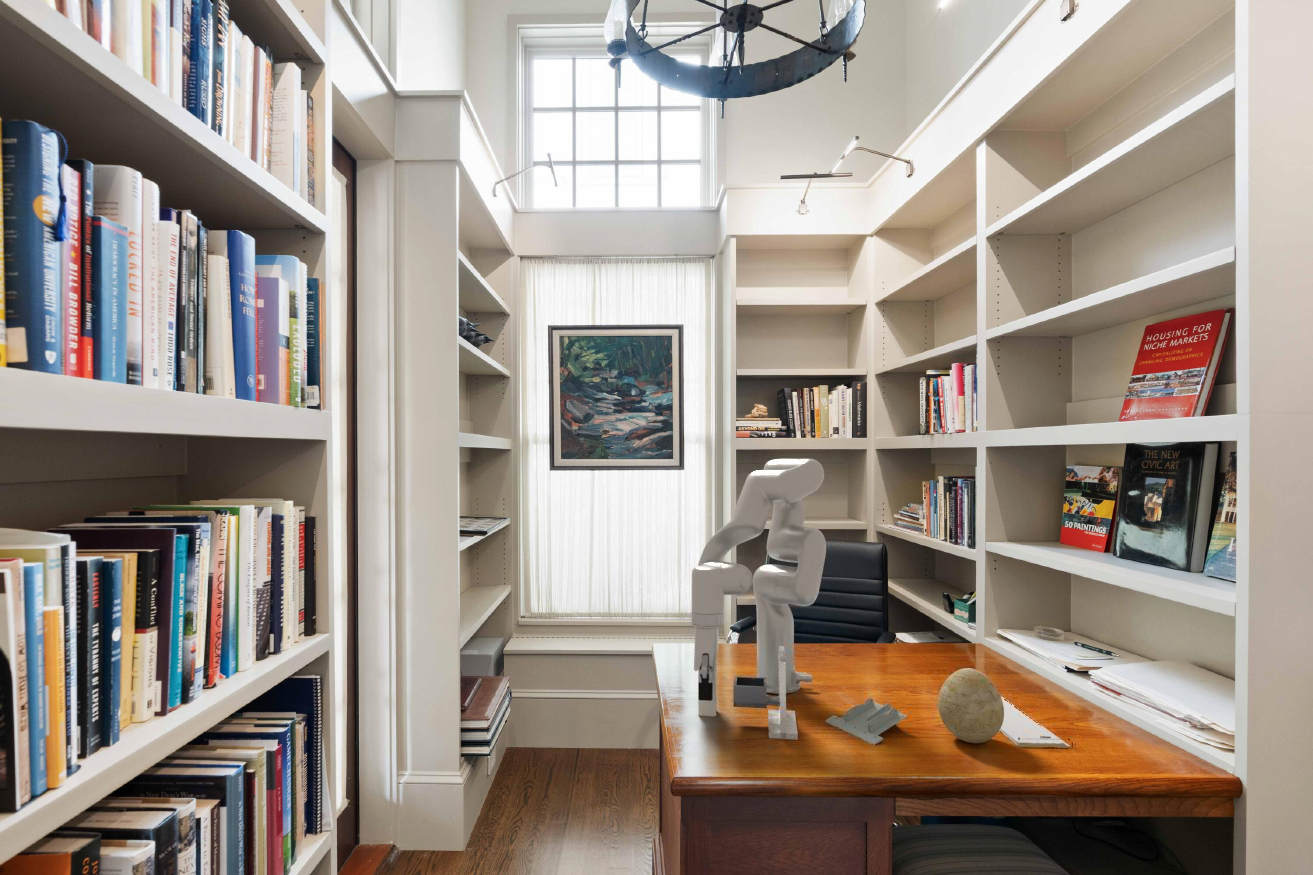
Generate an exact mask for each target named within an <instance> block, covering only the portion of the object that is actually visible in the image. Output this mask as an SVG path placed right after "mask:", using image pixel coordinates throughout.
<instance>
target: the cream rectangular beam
mask: <svg viewBox="0 0 1313 875" xmlns="http://www.w3.org/2000/svg"><path fill="white" fill-rule="evenodd" d="M708 669H710V668H708ZM697 671H698V676H697V677H698V682H699V673H700V668H699V670H697ZM711 682H713V699H712V701H706V700H699V699H698V707H697V708H698V714H697V715H698V716H699V717H700V716H701V717H714V716H716V717H717V713H718V663H716V668H715V671H714V672H712V680H711ZM716 712H717V713H716Z"/></svg>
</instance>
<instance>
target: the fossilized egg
mask: <svg viewBox="0 0 1313 875" xmlns="http://www.w3.org/2000/svg"><path fill="white" fill-rule="evenodd" d="M1001 697H1002V696H1001V695H1000V691H998V689H997V687H996V685H995V684H994V683H993V681H991V679H990V678H989V677H987V675H986V674H984V673H983V672H981V671H979V670H977V669H975V668H971V667H964V668H960V669H957V670H956V671H954V672H952V674H951V675H949V676H948V677H947V679H945V680H944V682H943V684H942V686H941V688H940V690H939V692H938V698H937V710H938V714H939V717H940V719H941V721H942V724H943V725H944V726H945V728H946V729H947V730H948V731H949V733H951V734H952V735H953V736H954V737H956V738H957V739H959V740H960V741H963V742H965V743H968V744H969V743H970V744H982V743H985V742H988V741H990V740H991V739H993V738H995V736H996V735H997V734H998V733H999V732H1000V731H999V730H1000V728H1001V726H1002V724H1003V720H1004V706H1003V702H1002V699H1001Z"/></svg>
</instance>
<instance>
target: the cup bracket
mask: <svg viewBox="0 0 1313 875" xmlns="http://www.w3.org/2000/svg"><path fill="white" fill-rule="evenodd" d="M778 649H779V694H778V696H772V695H771V696H770V695H769V696H768V694H767V678H765V677H757V676H741V675H735V676H734V679H733V693H732V694H733V695H732V696H733V705H732V706H733V707H735V708H750V709H752V708H753V709H767V708H768V706H773V707H775V706H777V707H778V709H767V710H768V711H767V712H768V716H767V717H768V718H767V719H768V738H769V739H777V740H778V739H781V740H799V739H798V738H799V734H798V727H797V726H798V725H797V719H796V711H795V710H787V693H786V661H785V652H784V646H780V645H778Z"/></svg>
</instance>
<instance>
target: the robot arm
mask: <svg viewBox="0 0 1313 875" xmlns="http://www.w3.org/2000/svg"><path fill="white" fill-rule="evenodd" d="M824 479H825V470H824V467H823V465H822V464H821V462H820V461H818V460H817V459H814V458H776V459H771V460H768V461H767V462H766V463H765V464H764V467H763V469H760V470H759V469H758V470H754V471H752V472H751V473H749V474H748V475H747V476H746V479H745V482H744V484H743V487H742V490H741V492H740V495H739V497H738V500H737V503H736V505H735V508H734V511H733V513H732V517H731V518H730V520H729V521H728V522H727V523H725V525H723V526H722V527H720V529H719V530H717V531H716V532H715V534H714V535H713V536H711V537H710V539H709V540H708V541H707V543H706V544H705V545H704V548H703V550H702V553H701V556H700V558H699V560H698V564H697V566H694V568H692V571H691V617H690V618H691V627H693V628H695V631H694V656H693V663H694V664H693V670H694V671H695V672H697V671H698V670H699V668H700V673H699V682H698V684H697V685H698V687H697V688H698V689H697V690H698V693H697V695H698V696H697V697H698V699H699V700H706V701H712V699H713V682H711V680H712V672H714V671H715V668H716V663H717V662H718V654H719V629H721V628H723V627H724V613H725V612H724V610H725V609H724V601H725V600H724V599H725V598H724V596H740V595H745V593H747V592H748V591H749V590H750V589H751V587H752V588H753V594H754V598H755V605H756V677H765V678H767V693H768V694H773V695H774V694H775V695H776V694H777V695H779V649H778V645H780V646H784V652H785V661H786V694H791V693H796V692H797V691H799V690H800V688H801V683H802V682H803V683H813V675H812V674H808V673H807V672H798V671H796V667H795V663H794V662H795V652H794V650H795V642H794V641H795V638H794V637H795V636H794V635H795V633H794V632H795V631H794V630H795V629H794V627H795V624H794V617H793V616H794V615H793V613H792V610H791V608H790V606H789V605H793V606H799V607H808V606H811V605H813V604H814V603H815V601H816V599H817V598H818V595H819V593H820V587H821V583H822V577H823V572H824V565H825V561H826V560H825V559H826V554H827V542H826V538H825V536H824V534H823V533H822V531H821V530H819V528H815V527H811V526H804V525H805V517H806V507H805V504H804V501H803V500H802V499H804V498H806V497H807V496H809V495H811V494H813V493H815V492H816V491H817V490H818V489H819V488H820V487H821V486H822V485H823V482H824ZM772 506H773V509H772ZM771 509H772V510H773V511H772V516H771V521H770V526H769V530H768V535H767V540H766V552H767V554H768V556H769V557H770V558H771V559H774V560H777V561H781V562H789V563H797V567H796V566H795V567H794V566H788V565H781V564H770V563H769V564H764V565H761V566H760V567H758V568H757V569H756V570H755V571H754V573H752V572H751V569H750V568H748V567H747V566H746V565H743V564H740V563H736V562H730V561H729V562H728V561H723V560H724V558H725V556H726V555H727V554H728V552H729V551H731V550H732V549H733V548H735V547H736V546H739V545H740V544H743V543H745V542H748V541H750V540H752V539H755V538H757V537H759V536H760V535H762V533H763V532H764V531H765V530H764V529H765V527H766V524H767V521H768V518H769V515H770V512H771ZM717 664H718V663H717ZM708 668H710V669H708ZM800 682H801V683H800Z"/></svg>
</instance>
